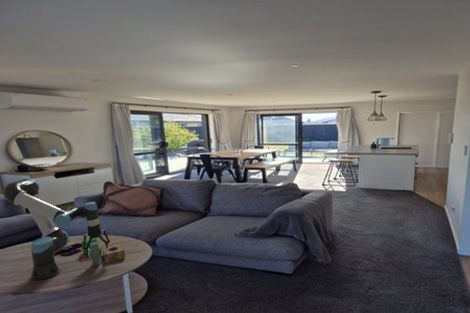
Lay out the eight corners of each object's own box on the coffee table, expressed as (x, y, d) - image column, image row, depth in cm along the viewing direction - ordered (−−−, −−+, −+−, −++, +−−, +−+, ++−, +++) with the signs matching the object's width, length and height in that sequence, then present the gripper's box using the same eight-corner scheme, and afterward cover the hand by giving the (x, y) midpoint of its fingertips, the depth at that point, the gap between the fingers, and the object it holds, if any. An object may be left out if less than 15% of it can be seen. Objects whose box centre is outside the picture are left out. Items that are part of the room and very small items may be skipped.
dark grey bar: (93, 266, 200) (91, 245, 199) (92, 263, 204) (90, 243, 202) (100, 264, 202) (98, 243, 201) (99, 262, 206) (97, 241, 205)
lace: (81, 262, 206) (80, 261, 206) (79, 260, 209) (79, 259, 209) (106, 254, 217) (106, 254, 217) (105, 253, 220) (105, 252, 220)
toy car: (90, 258, 213) (88, 245, 212) (81, 253, 221) (80, 241, 220) (103, 253, 221) (102, 240, 220) (94, 249, 229) (93, 236, 228)
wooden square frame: (105, 262, 205) (104, 254, 204) (103, 255, 216) (102, 248, 215) (124, 258, 211) (124, 250, 210) (121, 251, 222) (121, 243, 222)
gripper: (74, 230, 192) (80, 262, 195) (111, 222, 202) (116, 252, 205) (74, 227, 198) (79, 258, 201) (110, 219, 209) (114, 248, 212)
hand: (98, 255), depth 203 cm, fingers open, 10 cm apart
